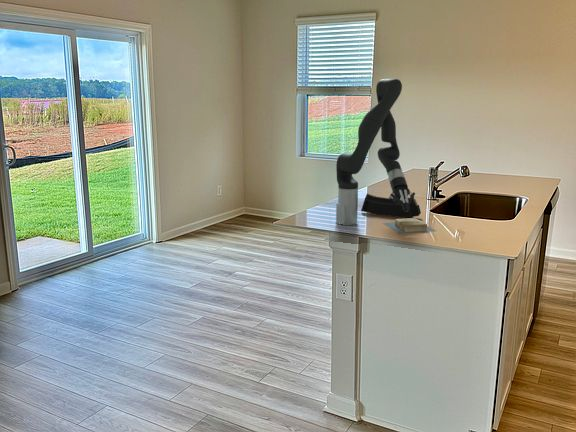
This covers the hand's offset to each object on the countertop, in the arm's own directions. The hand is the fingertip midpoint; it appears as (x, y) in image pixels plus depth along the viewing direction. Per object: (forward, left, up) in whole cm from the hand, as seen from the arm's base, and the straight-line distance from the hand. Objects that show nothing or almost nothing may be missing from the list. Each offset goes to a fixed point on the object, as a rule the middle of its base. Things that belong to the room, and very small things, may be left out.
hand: (407, 210), depth 237 cm
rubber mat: (-1, -2, -7) cm, 8 cm away
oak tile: (+1, +2, -6) cm, 6 cm away
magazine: (+9, +21, -8) cm, 24 cm away
